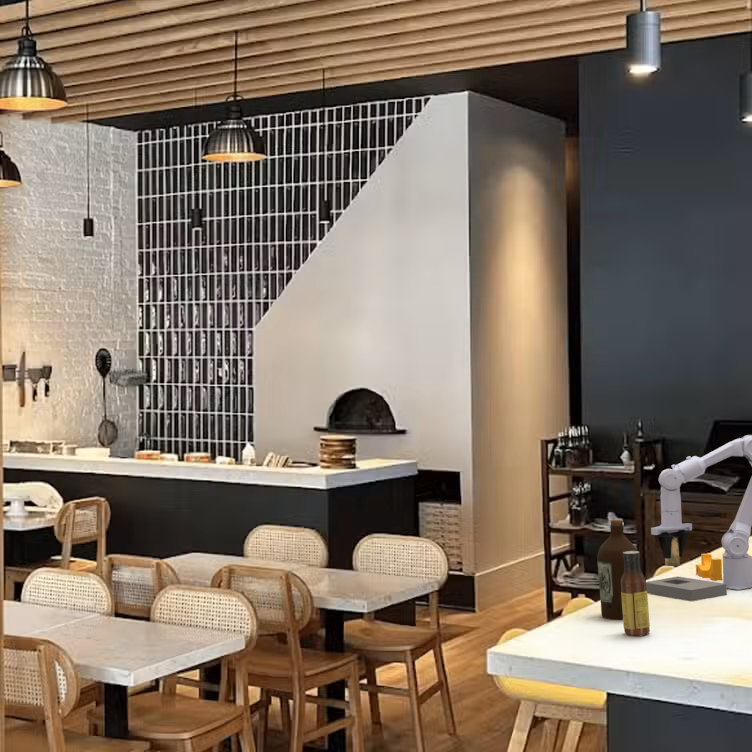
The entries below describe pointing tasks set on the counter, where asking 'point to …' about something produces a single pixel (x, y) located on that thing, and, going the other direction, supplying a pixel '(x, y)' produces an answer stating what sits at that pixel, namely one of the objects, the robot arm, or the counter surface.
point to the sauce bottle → (634, 596)
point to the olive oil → (612, 570)
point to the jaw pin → (674, 553)
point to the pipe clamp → (709, 568)
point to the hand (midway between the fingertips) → (672, 557)
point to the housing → (686, 588)
